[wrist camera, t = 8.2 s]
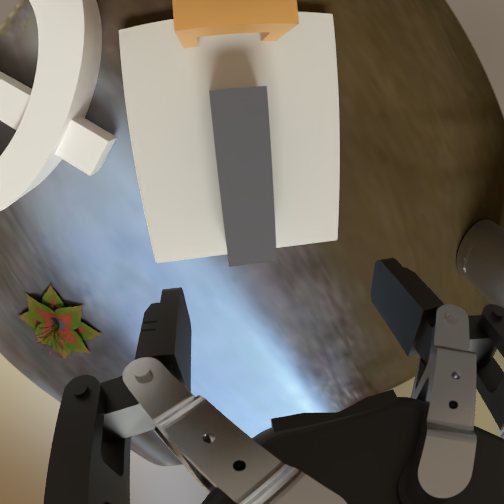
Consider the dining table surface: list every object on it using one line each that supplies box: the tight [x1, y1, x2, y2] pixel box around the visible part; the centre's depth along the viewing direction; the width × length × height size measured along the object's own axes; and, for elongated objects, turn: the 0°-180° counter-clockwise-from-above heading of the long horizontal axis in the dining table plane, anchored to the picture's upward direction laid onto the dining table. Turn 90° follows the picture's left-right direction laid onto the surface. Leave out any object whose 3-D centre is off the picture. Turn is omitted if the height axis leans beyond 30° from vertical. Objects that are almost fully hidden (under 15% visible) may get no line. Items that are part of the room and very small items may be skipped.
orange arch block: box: [172, 0, 299, 48], centre depth 17 cm, size 7×4×7 cm, turn 94°
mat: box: [119, 12, 340, 263], centre depth 26 cm, size 18×22×2 cm
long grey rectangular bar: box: [209, 86, 277, 267], centre depth 25 cm, size 4×14×4 cm, turn 4°
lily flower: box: [19, 284, 102, 358], centre depth 32 cm, size 12×12×5 cm
